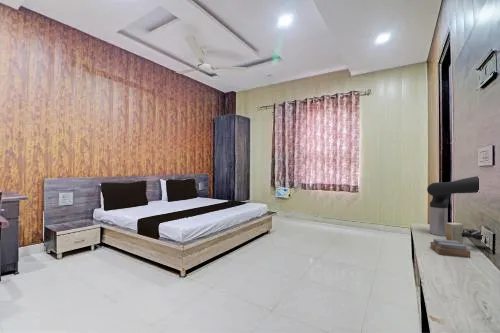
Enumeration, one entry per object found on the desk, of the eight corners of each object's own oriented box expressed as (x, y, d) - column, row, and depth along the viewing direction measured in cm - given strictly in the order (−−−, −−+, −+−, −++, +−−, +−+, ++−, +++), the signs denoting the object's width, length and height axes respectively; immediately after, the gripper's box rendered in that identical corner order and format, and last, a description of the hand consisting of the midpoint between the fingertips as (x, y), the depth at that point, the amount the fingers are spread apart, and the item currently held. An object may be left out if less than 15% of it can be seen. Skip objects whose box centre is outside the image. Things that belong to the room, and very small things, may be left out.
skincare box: (457, 244, 137) (458, 222, 137) (463, 247, 132) (464, 224, 132) (445, 244, 137) (445, 222, 137) (451, 246, 133) (451, 224, 133)
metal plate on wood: (430, 247, 131) (430, 238, 131) (457, 249, 128) (457, 240, 128) (440, 254, 120) (440, 244, 120) (470, 257, 116) (470, 247, 116)
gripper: (486, 225, 136) (451, 223, 141) (504, 231, 123) (464, 229, 128) (486, 239, 136) (451, 236, 141) (504, 246, 123) (464, 243, 128)
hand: (457, 232), depth 134 cm, fingers open, 8 cm apart
